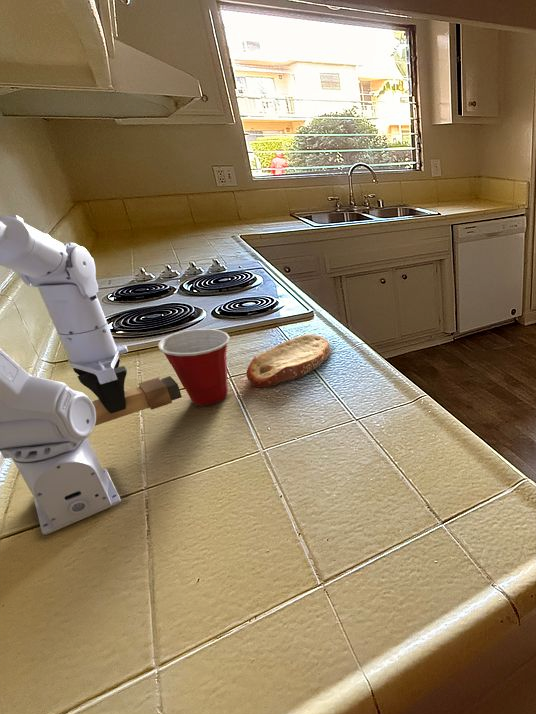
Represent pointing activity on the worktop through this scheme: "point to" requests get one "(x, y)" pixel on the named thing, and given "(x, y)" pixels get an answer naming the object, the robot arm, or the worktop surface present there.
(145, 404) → the brush
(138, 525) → the worktop surface
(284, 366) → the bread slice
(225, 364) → the plastic cup
